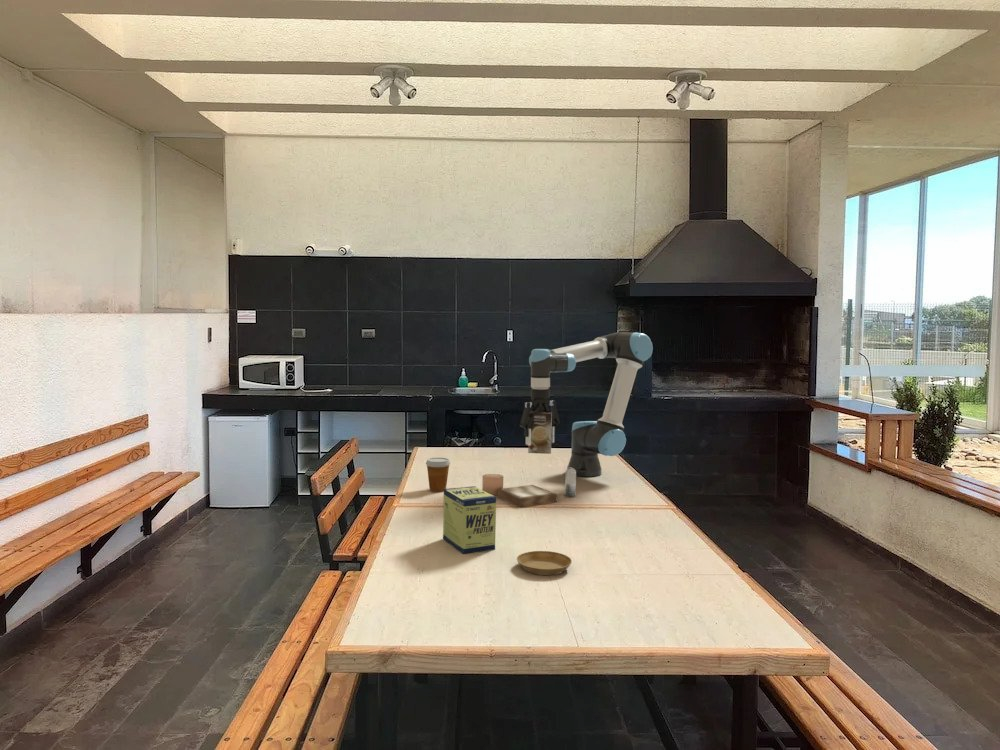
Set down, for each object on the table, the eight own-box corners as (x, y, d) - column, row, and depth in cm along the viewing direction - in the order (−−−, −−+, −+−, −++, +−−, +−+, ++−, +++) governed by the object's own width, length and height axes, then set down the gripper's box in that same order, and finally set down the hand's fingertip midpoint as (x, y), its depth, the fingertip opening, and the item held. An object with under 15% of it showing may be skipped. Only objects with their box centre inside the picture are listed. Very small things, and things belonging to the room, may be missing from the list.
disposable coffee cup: (421, 491, 269) (421, 460, 268) (432, 486, 278) (432, 456, 277) (443, 494, 265) (443, 462, 265) (454, 488, 274) (454, 458, 273)
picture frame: (532, 492, 271) (532, 484, 270) (556, 501, 257) (556, 493, 257) (497, 497, 262) (497, 488, 262) (520, 507, 249) (520, 498, 248)
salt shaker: (571, 494, 269) (572, 466, 268) (577, 496, 266) (578, 467, 265) (562, 495, 267) (563, 466, 266) (569, 497, 264) (569, 468, 263)
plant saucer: (516, 558, 195) (516, 549, 195) (569, 560, 194) (569, 551, 194) (516, 578, 180) (516, 568, 180) (573, 579, 180) (573, 569, 180)
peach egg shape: (496, 490, 273) (496, 473, 272) (507, 495, 266) (507, 477, 265) (478, 492, 268) (478, 475, 268) (488, 497, 262) (489, 479, 261)
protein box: (463, 554, 197) (464, 500, 196) (442, 539, 211) (442, 488, 210) (496, 549, 202) (497, 496, 201) (473, 534, 215) (474, 485, 214)
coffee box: (527, 453, 274) (528, 413, 273) (528, 450, 281) (529, 410, 279) (551, 454, 273) (551, 413, 272) (551, 450, 280) (551, 411, 278)
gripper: (558, 385, 284) (558, 439, 286) (510, 388, 272) (510, 444, 274) (569, 387, 278) (569, 442, 280) (520, 390, 266) (520, 447, 268)
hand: (540, 443), depth 277 cm, fingers closed on coffee box, 10 cm apart
